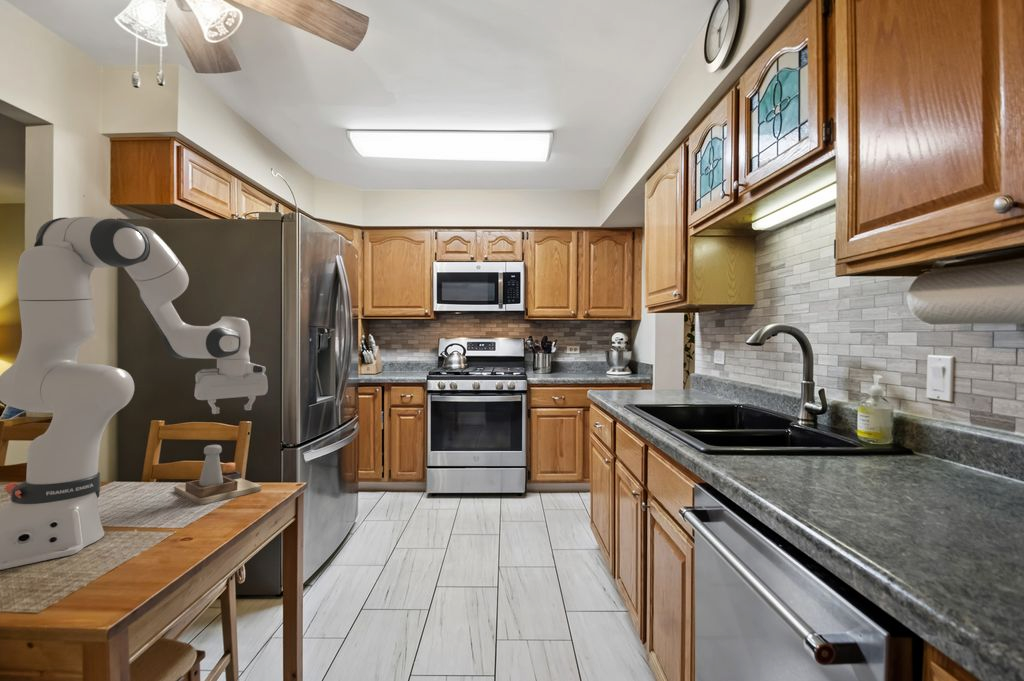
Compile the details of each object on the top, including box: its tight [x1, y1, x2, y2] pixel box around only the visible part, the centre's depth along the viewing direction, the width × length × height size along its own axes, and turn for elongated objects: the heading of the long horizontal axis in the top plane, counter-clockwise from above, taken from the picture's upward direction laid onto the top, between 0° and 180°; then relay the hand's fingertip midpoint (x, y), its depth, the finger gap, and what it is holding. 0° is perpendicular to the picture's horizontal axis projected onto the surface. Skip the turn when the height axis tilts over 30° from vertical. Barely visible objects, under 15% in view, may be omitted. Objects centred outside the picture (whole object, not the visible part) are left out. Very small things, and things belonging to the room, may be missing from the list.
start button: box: [222, 462, 236, 473], centre depth 142 cm, size 3×3×2 cm
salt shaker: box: [199, 444, 223, 488], centre depth 130 cm, size 6×6×13 cm
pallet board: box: [173, 470, 262, 506], centre depth 134 cm, size 16×18×4 cm
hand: (232, 411), depth 142 cm, fingers open, 8 cm apart
